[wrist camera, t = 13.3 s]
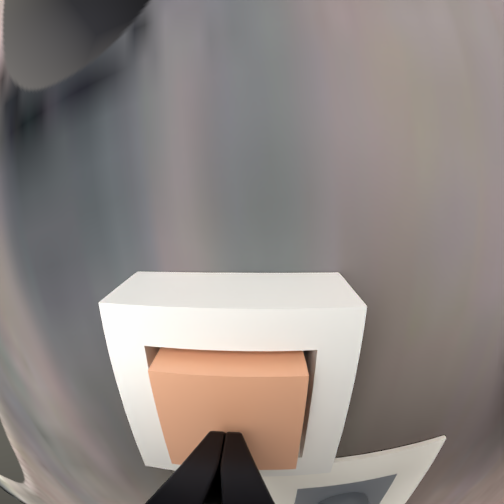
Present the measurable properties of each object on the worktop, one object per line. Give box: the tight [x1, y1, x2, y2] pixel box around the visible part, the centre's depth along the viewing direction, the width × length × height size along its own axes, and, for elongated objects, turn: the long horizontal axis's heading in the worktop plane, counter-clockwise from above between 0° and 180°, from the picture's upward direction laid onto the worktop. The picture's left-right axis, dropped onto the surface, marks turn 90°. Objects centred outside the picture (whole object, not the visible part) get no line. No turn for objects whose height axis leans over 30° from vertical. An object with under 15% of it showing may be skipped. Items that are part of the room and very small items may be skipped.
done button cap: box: [148, 347, 309, 470], centre depth 9 cm, size 4×4×3 cm
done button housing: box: [99, 271, 367, 477], centre depth 10 cm, size 7×7×3 cm
